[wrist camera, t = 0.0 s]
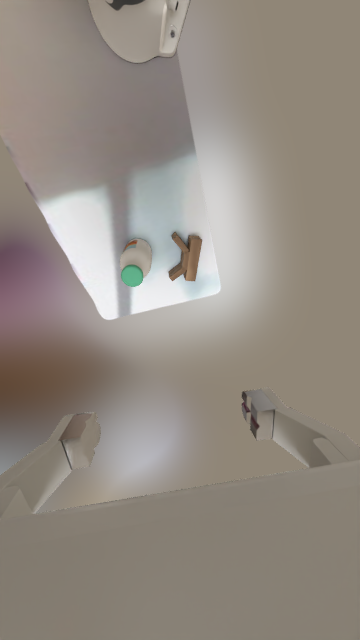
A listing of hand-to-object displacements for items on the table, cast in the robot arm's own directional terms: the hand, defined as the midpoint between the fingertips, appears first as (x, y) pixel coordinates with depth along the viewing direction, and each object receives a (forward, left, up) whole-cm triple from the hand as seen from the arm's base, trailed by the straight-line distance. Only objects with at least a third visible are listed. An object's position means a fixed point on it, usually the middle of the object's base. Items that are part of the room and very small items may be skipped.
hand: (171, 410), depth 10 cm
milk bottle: (+7, -2, -52) cm, 53 cm away
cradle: (+1, +10, -52) cm, 53 cm away
